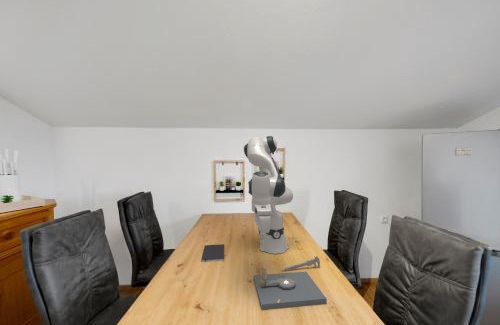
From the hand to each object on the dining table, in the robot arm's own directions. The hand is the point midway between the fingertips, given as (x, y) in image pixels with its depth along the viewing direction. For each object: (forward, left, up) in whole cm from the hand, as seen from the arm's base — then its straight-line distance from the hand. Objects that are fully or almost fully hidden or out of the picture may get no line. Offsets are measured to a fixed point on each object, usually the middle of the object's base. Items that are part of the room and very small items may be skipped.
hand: (261, 236), depth 102 cm
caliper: (-8, +22, -22) cm, 32 cm away
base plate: (+9, +9, -21) cm, 25 cm away
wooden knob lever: (+8, +6, -19) cm, 21 cm away
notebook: (-34, -24, -22) cm, 47 cm away
